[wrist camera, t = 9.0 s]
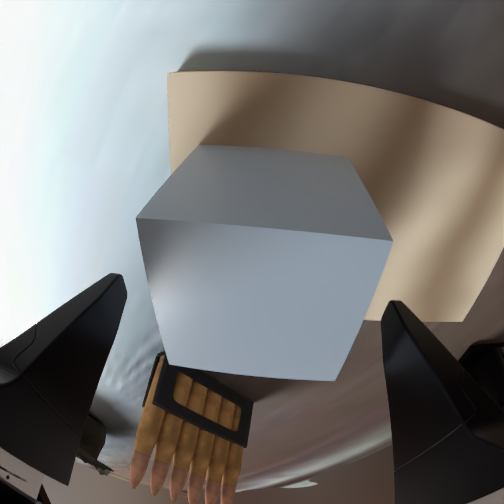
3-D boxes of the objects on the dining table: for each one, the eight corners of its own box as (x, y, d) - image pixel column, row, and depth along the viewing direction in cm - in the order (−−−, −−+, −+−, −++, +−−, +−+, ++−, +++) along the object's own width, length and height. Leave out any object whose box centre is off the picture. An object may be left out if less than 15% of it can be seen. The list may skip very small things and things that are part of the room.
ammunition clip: (156, 354, 24) (115, 482, 15) (168, 348, 24) (127, 485, 14) (240, 406, 29) (225, 514, 19) (254, 402, 28) (240, 515, 18)
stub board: (526, 140, 11) (585, 178, 7) (456, 309, 18) (480, 366, 14) (176, 71, 12) (122, 82, 7) (189, 290, 19) (166, 356, 15)
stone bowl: (147, 434, 39) (132, 485, 32) (97, 433, 52) (85, 468, 44) (6, 346, 29) (-22, 399, 22) (1, 372, 42) (-16, 407, 35)
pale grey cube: (347, 157, 12) (393, 241, 7) (323, 273, 16) (334, 380, 11) (198, 144, 13) (135, 217, 7) (203, 262, 16) (169, 364, 11)
